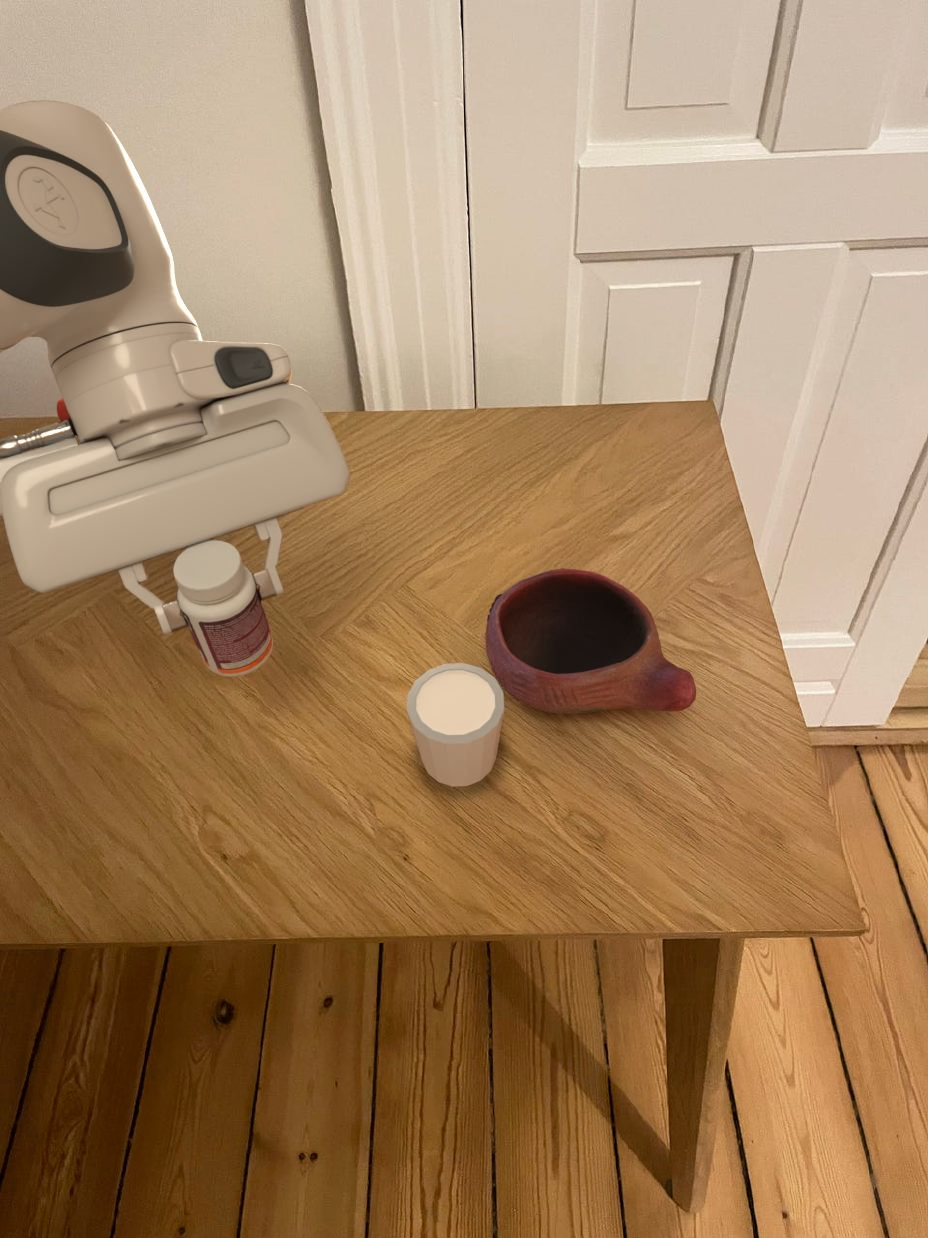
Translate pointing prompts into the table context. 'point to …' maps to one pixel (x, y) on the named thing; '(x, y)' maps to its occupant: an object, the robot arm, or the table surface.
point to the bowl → (581, 647)
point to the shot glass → (456, 722)
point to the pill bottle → (222, 608)
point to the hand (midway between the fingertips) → (226, 613)
